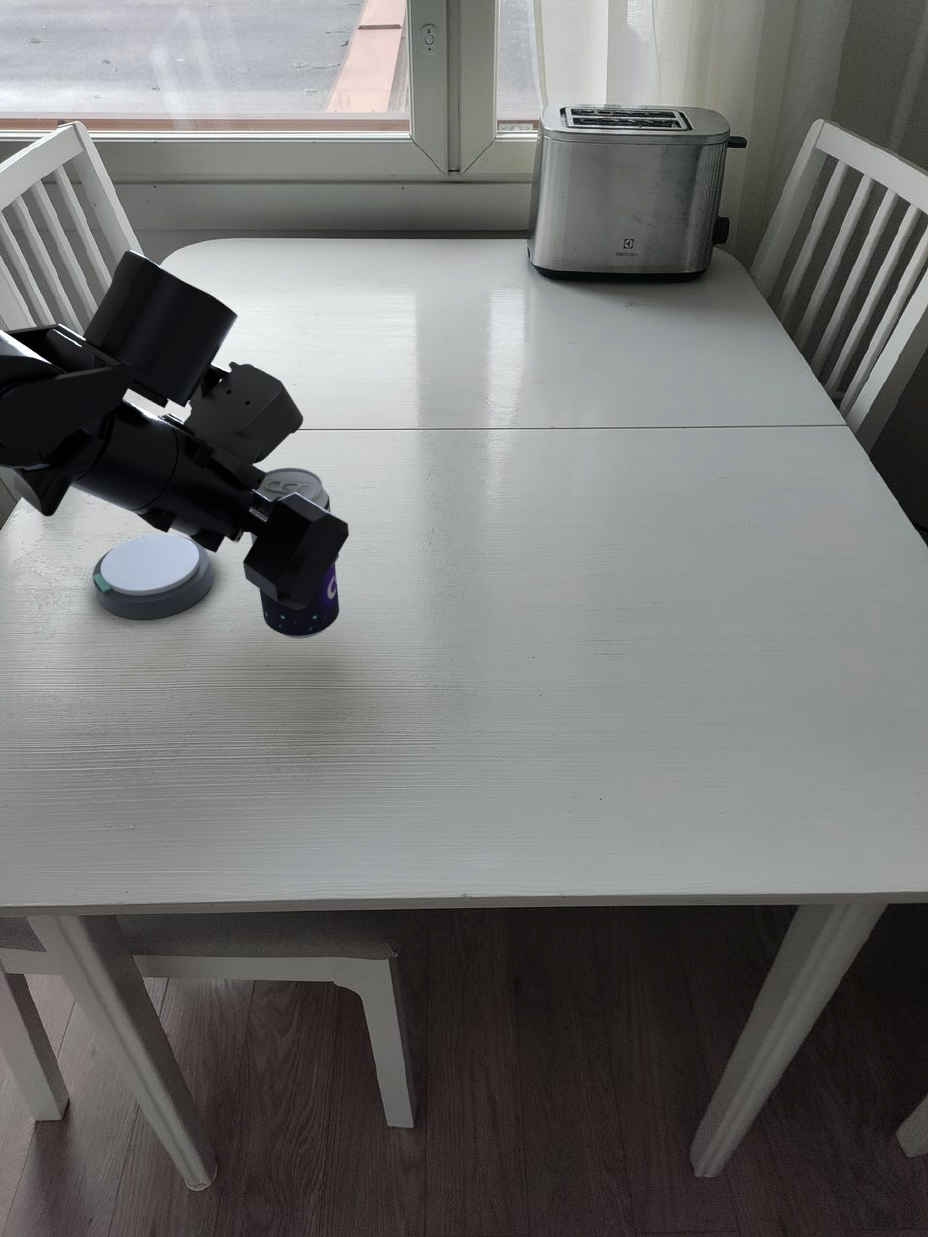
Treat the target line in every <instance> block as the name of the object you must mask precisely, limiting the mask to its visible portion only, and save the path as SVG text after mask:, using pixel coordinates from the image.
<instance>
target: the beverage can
mask: <svg viewBox="0 0 928 1237" xmlns="http://www.w3.org/2000/svg"><path fill="white" fill-rule="evenodd" d="M265 472H266V473H267V475H266V477H265V479H264V480H263V482H262V484H261V486H260V487H259V489H258V490H255V491H257V492H258V493H260V494H261V495H263V496H264V497H266V498H267V499H269V500H270V501H273V500H274V499H275V498H276V497H278V496H283V497H286V496H288V495H290V494H293V493H295V492H296V493H298V494H300V495H302V496H304V497H305V498H307V499H309V500H311V501H312V502H314V503H316V504H317V505H319V506H321V507H323V508H324V509H326V510H327V511H329V512H330V513H332V512H331V502H330V496H329V493H328V492H327V491H326V489H325V488H324V486H323V482H322V479H321V478H320V476H318V475H317V473H315V472H313V471H311V470H309V469H308V470H307V469H304V468H299V467H281V468H275V469H271V470H269V471H265ZM250 510H251V511H252V512H254V513H255V514H257V515H258V516H260V517H261V518H263V519H264V520H266V521H267V519H268V518H267V517H265V516H264V515H263V514H261V513H260V512H258V511H256V510H255V509H253V507H251V508H250ZM250 538H251V544H252V545H253V543H254V542H255V540H256V538H257V536H255V535H254V534H252V533H251V532H250ZM252 545H251V546H252ZM258 590H259V595H260V596H259V597H260V604H261V608H262V614H263V620H264V622H265V623H266V626H268V628H270V629H271V630H273V631H274V632H276V633H278V634H280V635H283V636H285V637H287V638H291V639H309V638H313V637H315V636H318V635H319V634H321V633H323V632H324V631H326V629H327V628H329V627H330V626H331V625H332V624H333V623H335V621H336V620H337V618H338V616H339V613H340V602H339V591H338V580H337V568H336V563H335V564H334V566H333V567H331V568H330V569H329V570H328V572H327V574H326V575H325V577H324V579H323V581H322V582H321V584H320V586H319V587H318V589H317V591H316V593H315V594H314V596H313V598H312V599H311V601H310V603H309V605H308V606H307V607H304V608H301V609H299V610H296V609H294V608H291V607H288V606H286V605H283V604H280V603H278V602H276V601H275V600H274V599H272V598H271V597H270V596H268V595H267V594H266V593H264V592H263V591H262V590H260V589H259V588H258Z"/></svg>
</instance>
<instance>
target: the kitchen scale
mask: <svg viewBox="0 0 928 1237" xmlns="http://www.w3.org/2000/svg"><path fill="white" fill-rule="evenodd" d="M91 577H92V582H93V585H94V588H95V591H96V594H97V597H98V601H99V603H100V605H101V606H102V607H103V608H104V609H105V610H107V611H108V612H109V613H111V614H113V615H115V616H117V617H120V618H125V619H129V620H156V619H162V618H167V617H170V616H173V615H176V614H179V613H182V612H183V611H185V610H187V609H189V608H192V607H193V606H194V605H196V604H197V603H199V601H201V600H202V599H203V598H204V597H205V596H206V594H207V593H208V592H209V590H210V588H211V586H212V584H213V581H214V580H213V579H214V574H213V570H212V564H211V560H210V555H209V553H208V550H207V549H205V548H203V547H202V546H201V545H199V544H198V543H197V542H195V541H194V540H193V539H191V538H190V537H189V536H184V535H180V534H174V533H173V534H172V533H151V534H144V535H140V536H136V537H133V538H129V540H126V541H124V542H121V543H119V544H118V545H116V546H115V547H113V548H111V549H110V550H108V551H107V552H105V554H103V555H102V556H101V558H99V560H98V561H97V563H96V564H95V566H94V568H93V572H92V576H91Z"/></svg>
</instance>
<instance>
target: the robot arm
mask: <svg viewBox="0 0 928 1237" xmlns="http://www.w3.org/2000/svg"><path fill="white" fill-rule="evenodd" d="M238 317H239V315H238V314H237V313H236V312H235V311H234V310H233V309H231V308H230V307H229V306H228V305H226V304H225V303H223V302H222V301H221V300H220V299H218V298H217V297H215V296H214V295H212V294H210V293H208V292H207V291H205V290H202V289H200V288H198V287H197V286H194V285H192V284H190V283H188V282H186V281H184V280H182V279H180V278H179V277H177V276H175V275H174V274H172V273H170V272H169V271H167V270H166V269H165V268H164V269H163V268H162V267H161V266H159V265H158V264H156V263H155V262H154V261H152V260H151V259H149V258H147V257H145V256H144V255H141V254H139V253H137V252H136V251H133V250H131V249H129V250H126V251H124V253H123V254H122V257H121V259H120V261H119V262H118V264H117V265H116V268H115V270H114V272H113V276H112V280H111V283H110V285H109V287H108V290H107V291H106V293H105V295H104V296H103V298H102V300H101V302H100V303H99V306H98V307H97V309H96V311H95V313H94V315H93V316H92V318H91V320H90V322H89V324H88V325H87V328H86V329H85V331H84V332H83V334H82V336H81V335H79V334H77V333H76V332H74V331H72V330H70V329H69V328H68V327H66V326H64V325H62V324H61V323H53V324H45V325H38V326H31V327H25V328H16V329H9V330H1V329H0V467H1V468H7V469H9V470H10V471H11V473H12V481H13V486H14V487H13V488H14V491H15V493H17V494H18V495H19V496H20V497H21V498H22V499H24V501H26V502H27V503H28V504H30V506H31V507H33V508H34V509H35V510H37V511H38V513H40V514H41V515H42V516H44V517H47V518H48V517H49V518H50V517H52V516H54V515H55V513H56V512H57V510H58V508H59V507H60V505H61V503H62V501H63V500H64V498H65V496H66V494H67V492H68V490H69V489H70V487H71V488H73V489H76V490H77V491H81V492H82V493H85V494H88V495H90V496H92V497H95V498H98V499H100V500H103V501H105V502H107V503H109V504H112V505H114V506H117V507H119V508H121V509H124V510H125V511H129V512H131V513H134V514H135V515H137V516H138V517H139V518H141V519H142V520H143V521H144V522H146V523H147V524H148V525H150V526H151V527H152V528H154V529H156V530H158V531H161V532H164V533H165V534H168V532H169V531H170V529H172V530H175V531H177V532H180V533H181V534H184V535H186V537H188V538H191V539H193V540H194V541H195V542H197V543H198V544H199V545H201V546H202V547H203V548H205V549H206V551H210V552H212V553H214V554H216V553H217V552H218V550H219V548H220V546H221V545H222V543H223V541H224V540H225V539H226V538H227V539H228V540H229V541H231V542H233V543H235V544H238V543H239V542H240V541H241V539H242V538H243V536H244V533H250V534H251V533H252V534H254V535H255V536H257V538H256V540H255V542H254V543H253V545H251V547H250V548H249V551H248V552H247V554H246V556H244V559H243V561H242V563H243V571H244V576H245V579H246V580H247V581H248V582H250V583H251V584H252V585H254V586H255V587H256V588H257V589H258V590H259V589H260V590H262V591H263V592H264V593H266V594H267V595H268V596H270V597H271V598H272V599H274V600H275V601H276V602H278V603H280V604H283V605H286V606H288V607H291V608H294V609H296V610H299V609H301V608H304V607H307V606H308V605H309V603H310V601H311V599H312V598H313V596H314V594H315V593H316V591H317V589H318V587H319V586H320V584H321V582H322V581H323V579H324V577H325V575H326V574H327V572H328V570H329V569H330V568H331V567H333V566H334V564H335V565H336V563H337V561H338V559H339V557H340V554H339V553H340V552H341V550H342V548H343V546H344V544H345V543H346V541H347V540H348V537H349V536H350V532H349V522H346V521H345V520H344V519H341V518H340V517H339V516H337V515H335V514H334V513H332V512H331V511H330V512H331V513H330V512H329V511H327V510H326V509H324V508H323V507H321V506H319V505H317V504H316V503H314V502H312V501H311V500H309V499H307V498H305V497H304V496H302V495H300V494H298V493H296V492H295V493H293V494H290V495H288V496H286V497H283V496H278V497H276V498H275V499H274V500H273V501H270V500H269V499H267V498H266V497H264V496H263V495H261V494H260V493H258V492H257V491H255V490H258V489H259V487H260V486H261V484H262V482H263V480H264V479H265V477H266V475H267V473H266V472H267V471H265V470H264V469H261V468H260V467H258V466H255V464H258V463H261V462H262V461H264V460H265V459H266V458H267V457H268V456H270V454H271V453H272V452H274V450H276V448H278V446H279V445H281V444H282V443H283V442H284V441H285V440H286V439H287V438H288V437H289V435H292V434H295V433H296V432H297V431H299V429H300V428H301V426H302V424H303V422H304V416H303V414H302V413H301V411H300V409H299V408H298V406H297V404H296V403H295V400H293V398H292V396H291V395H290V393H289V391H288V390H287V388H286V387H285V385H284V383H283V382H282V381H281V379H280V378H277V377H276V376H274V375H272V374H270V373H269V372H267V371H264V370H262V369H261V368H259V367H257V366H255V365H254V364H251V363H241V364H239V363H237V362H235V361H234V360H232V361H230V362H229V363H228V367H229V369H225V368H223V367H221V366H219V365H217V364H215V363H214V362H213V361H214V360H215V358H216V356H217V355H218V353H219V351H220V349H221V347H222V346H223V345H224V342H225V340H226V339H227V337H228V335H229V334H230V331H231V330H232V328H233V326H234V325H235V322H236V321H237V319H238ZM128 390H130V391H132V392H134V393H135V394H137V395H139V396H140V397H142V398H144V399H146V400H147V401H150V402H152V403H153V404H155V405H157V406H158V407H161V408H163V409H165V408H166V407H167V405H168V403H169V401H171V402H173V403H174V404H176V405H178V406H180V407H181V408H183V409H185V408H186V406H187V404H188V405H189V406H190V408H191V409H190V414H189V416H188V417H187V418H186V419H185V420H184V419H182V418H181V417H179V416H177V415H176V414H173V413H171V412H169V413H166V414H163V415H161V416H160V415H157V416H156V415H154V414H152V413H151V412H149V411H147V410H145V409H143V408H141V407H139V406H137V405H135V404H134V403H132V402H130V401H128V400H126V399H124V397H125V395H126V393H127V392H128ZM251 507H253V509H255V510H256V511H258V512H260V513H261V514H263V515H264V516H265V517H267V518H268V519H267V521H266V520H264V519H263V518H261V517H260V516H258V515H257V514H255V513H254V512H252V511H251V510H250V508H251ZM260 590H259V591H260Z"/></svg>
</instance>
